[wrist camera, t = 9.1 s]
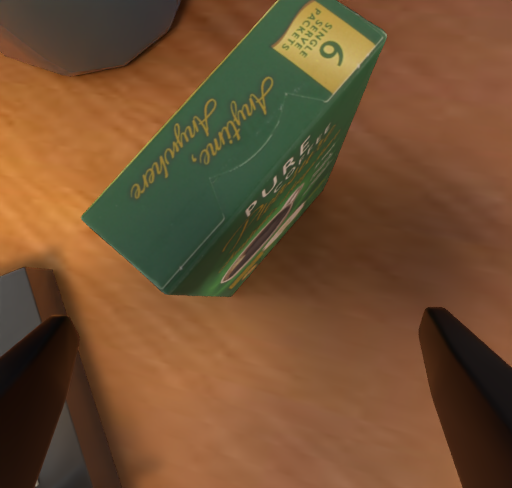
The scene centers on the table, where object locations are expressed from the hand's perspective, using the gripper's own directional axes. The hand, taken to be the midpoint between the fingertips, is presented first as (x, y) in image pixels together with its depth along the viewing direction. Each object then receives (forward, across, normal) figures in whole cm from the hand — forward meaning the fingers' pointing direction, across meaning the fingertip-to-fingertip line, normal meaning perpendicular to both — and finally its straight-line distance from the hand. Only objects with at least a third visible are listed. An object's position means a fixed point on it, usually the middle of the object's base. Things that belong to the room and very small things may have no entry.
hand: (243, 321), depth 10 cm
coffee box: (+11, 0, +5) cm, 12 cm away
